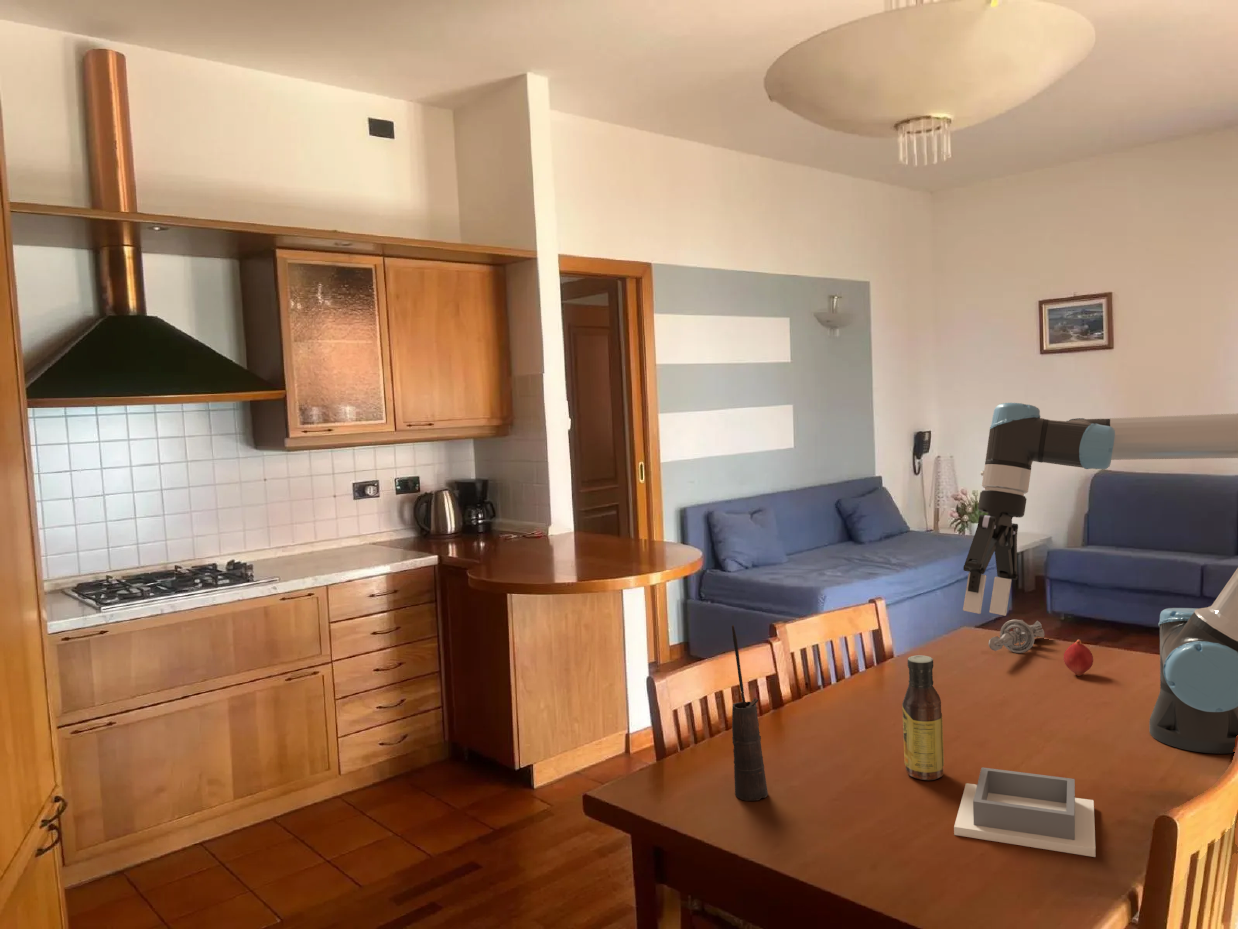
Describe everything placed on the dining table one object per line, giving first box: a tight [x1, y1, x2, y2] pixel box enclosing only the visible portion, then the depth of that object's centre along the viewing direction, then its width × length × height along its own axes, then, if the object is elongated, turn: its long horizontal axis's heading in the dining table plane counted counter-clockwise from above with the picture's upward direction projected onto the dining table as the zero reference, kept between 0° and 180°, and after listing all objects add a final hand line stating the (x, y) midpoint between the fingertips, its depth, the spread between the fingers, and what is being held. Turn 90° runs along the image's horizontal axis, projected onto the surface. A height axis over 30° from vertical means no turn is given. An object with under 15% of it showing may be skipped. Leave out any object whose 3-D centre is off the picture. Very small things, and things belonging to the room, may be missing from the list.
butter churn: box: [731, 624, 769, 802], centre depth 149 cm, size 9×10×28 cm
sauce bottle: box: [901, 654, 945, 781], centre depth 152 cm, size 7×6×20 cm
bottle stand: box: [953, 766, 1096, 858], centre depth 135 cm, size 18×16×5 cm
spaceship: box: [988, 618, 1045, 654], centre depth 220 cm, size 8×35×8 cm
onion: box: [1063, 639, 1094, 677], centre depth 200 cm, size 6×6×8 cm
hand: (985, 613), depth 159 cm, fingers open, 13 cm apart
